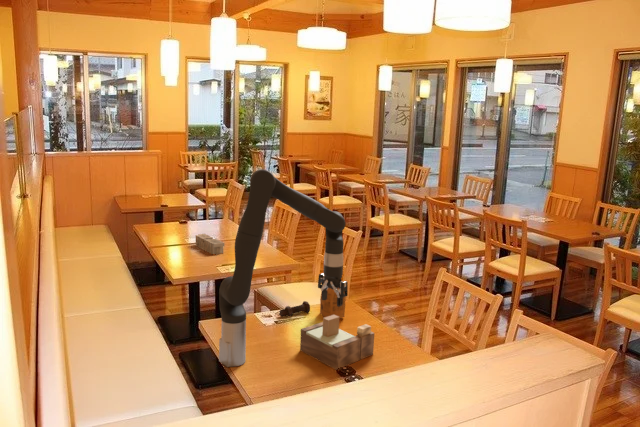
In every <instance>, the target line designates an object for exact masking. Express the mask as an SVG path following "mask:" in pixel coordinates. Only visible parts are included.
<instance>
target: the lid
mask: <svg viewBox="0 0 640 427" xmlns="http://www.w3.org/2000/svg"><path fill="white" fill-rule="evenodd" d="M322 322H323V326H322V327H319V328H316V329H313V330H310V331H307V332H306V334H307V335H309V336H311V337H313V338H315V339H317V340H319V341H321V342H323V343H325V344H327V345H329V346H331V347H333V345H334V344H336V343H339V342H342V341H345V340H347V339H350V338H353V337H355V336H356V335H354V334H351V333H348V332H347V331H345V330H342V329H341V328H340V318H339V316H336V315H331V316H328V317H325V318H324V317H323V318H322Z"/></svg>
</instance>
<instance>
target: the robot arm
mask: <svg viewBox="0 0 640 427" xmlns="http://www.w3.org/2000/svg"><path fill="white" fill-rule="evenodd" d="M271 198H274V199H276V200H278V201H280V202H282V203H284V204H286V205H287V206H289V207H290V208H291V209H293V210H295V211H296V212H297V213H300V214H302V215H303V216H304V217H307V218H308V219H309V220H312V221H314V222H317V224H319V225H320V226H322V227H324V228H325V229H324V230H325V242H324V246H325V247H324V256H323V272H321V273H319V274H318V278H317V288H318V289H320V292H322V300H327V289H328V288H331V289H333V290H334V292H335V293H336V294H337V296H338V297H337V306H338V307H340V306H342V305H343V297H346V298H347V297H348V293H349V291H348V285H349V284H348V281H347V280H346V281H345V280H344V281H343V280H342V278H343V274H344V239H343V231H344V229H345V227H346V219H345V218H344V216H343V215H342V213H341V212H339V211H336V210H330V209H329V208H327V207H326V206H325V205H324V204H323V203H321V202H319V201H318V200H315V199H314V198H312V197H311V196H308V195H306V194H304V193H302V192H300V191H298V190H296V189H294V188H292V187H290V186H288V185H287V184H285V183H284V182H282V181H280V180H279V179H278V178H277V177H276V176H275V175H274V174H273V173H272V172H271V171H270V170H267V169H264V168H263V169H260V168H259V169H258V170H255V171H254V172H253V173H252V174H251V175H250V178H249V193H248V200H247V204H246V207H245V209H244V212H243V214H242V217H241V218H240V222H239V225H238V228H237V231H236V236H235V239H234V271H233V275H231V276H227V277H225V278H224V279H223V280H222V282H221V283H220V286H219V290H218V291H219V292H218V294H219V295H218V299H219V311H220V316H221V331H220V332H221V335H220V336H221V337H219V339H218V346H219V347H218V348H219V350H218V362H220V363H221V364H222V365H223V366H225V367H227V368H230V367H239V366H242V365H244V364H245V363H246V358H247V357H246V353H247V352H246V351H247V350H246V349H247V348H246V347H247V311H246V309H245V306H244V304H245V303H246V302H247V300H248V299H249V297H250V292H251V287H252V280H253V279H252V278H253V274H254V269H255V264H256V261H257V256H258V252H259V248H260V245H261V242H262V238H263V233H264V228H265V222H266V215H267V210H268V206H269V203H270V201H271V200H270V199H271ZM341 277H342V278H341ZM338 287H339V289H337V288H338ZM339 292H340V294H339Z"/></svg>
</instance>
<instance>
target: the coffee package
mask: <svg viewBox="0 0 640 427" xmlns="http://www.w3.org/2000/svg"><path fill="white" fill-rule="evenodd" d="M342 278H343V276H342V277H341V279H342ZM337 289H339V287H338V288H337ZM320 292H321V294H320V299H319V300H320V306H319V307H320V308H319V314H320V315H322V316H323V318H325V317H328V316H331V315H336V316H339V319H343V318H345V313H346V298H347V296H346V297H343V305H342V306H340V307H338V306H337V297H338V296H337V294H336V293H335V292H334V290H333V289H331V288H328V289H327V300H322V291H320ZM339 294H340V292H339Z"/></svg>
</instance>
